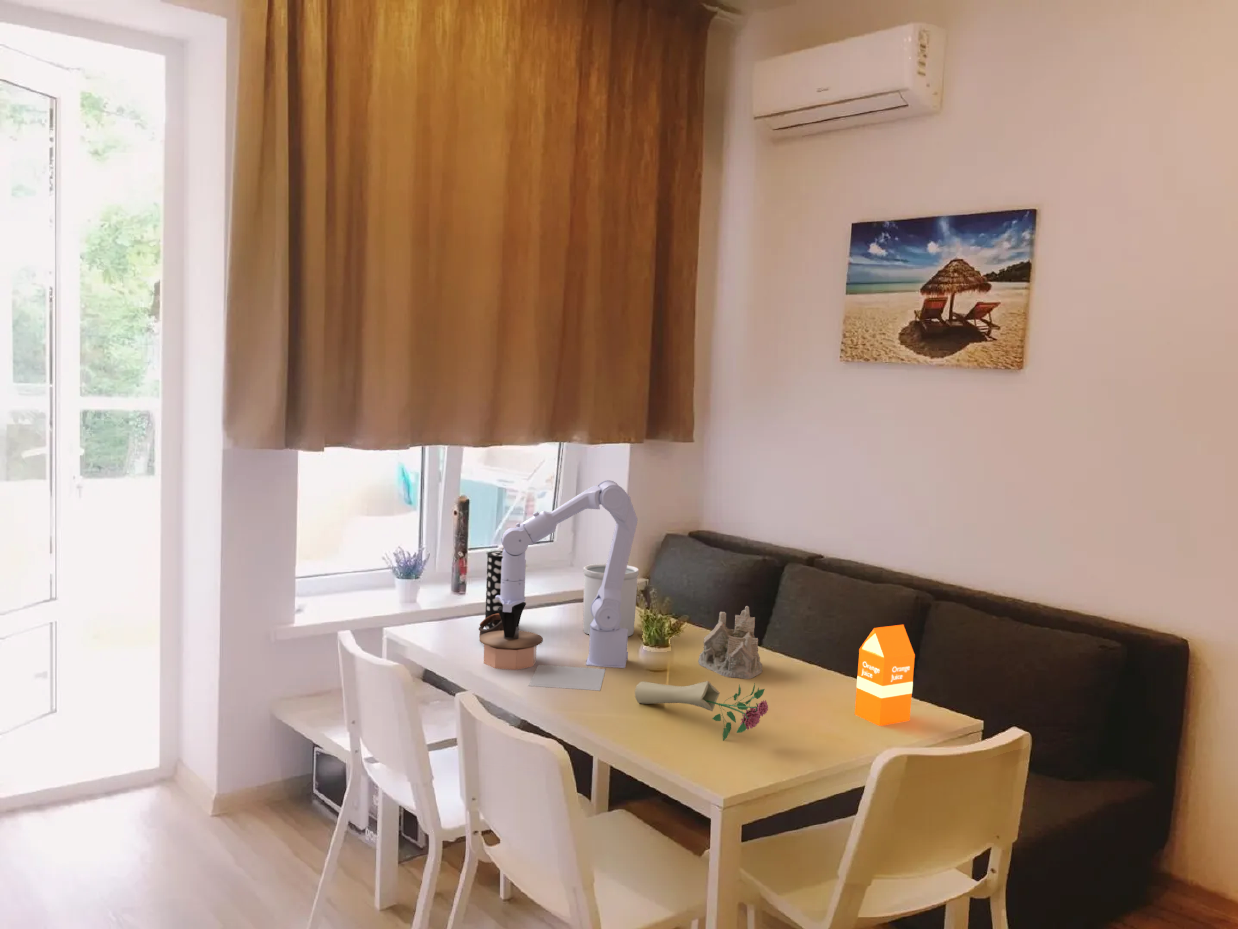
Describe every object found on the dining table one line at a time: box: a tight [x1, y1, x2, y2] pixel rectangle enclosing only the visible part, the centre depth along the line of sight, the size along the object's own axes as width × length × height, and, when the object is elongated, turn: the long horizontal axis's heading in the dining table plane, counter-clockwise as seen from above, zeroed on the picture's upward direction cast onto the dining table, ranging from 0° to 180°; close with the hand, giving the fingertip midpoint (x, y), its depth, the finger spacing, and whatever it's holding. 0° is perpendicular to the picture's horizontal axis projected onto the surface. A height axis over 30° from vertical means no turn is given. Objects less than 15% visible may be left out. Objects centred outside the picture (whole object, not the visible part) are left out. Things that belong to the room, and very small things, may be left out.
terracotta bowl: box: [483, 644, 538, 671], centre depth 249 cm, size 12×12×5 cm
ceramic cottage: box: [697, 605, 763, 680], centre depth 254 cm, size 16×16×15 cm
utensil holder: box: [582, 563, 640, 637], centre depth 281 cm, size 15×15×18 cm
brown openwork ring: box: [478, 613, 503, 638], centre depth 268 cm, size 12×10×8 cm
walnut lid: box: [478, 626, 544, 648], centre depth 249 cm, size 15×15×3 cm
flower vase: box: [634, 680, 769, 741], centre depth 212 cm, size 12×12×35 cm
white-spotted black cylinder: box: [484, 550, 503, 629], centre depth 281 cm, size 8×8×20 cm
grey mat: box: [527, 664, 606, 692], centre depth 240 cm, size 16×16×1 cm
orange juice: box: [854, 624, 916, 727], centre depth 223 cm, size 8×9×20 cm
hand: (510, 634), depth 249 cm, fingers closed on walnut lid, 4 cm apart
